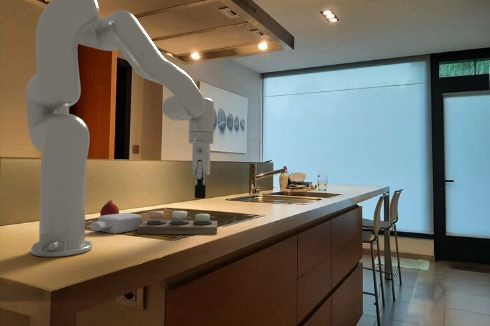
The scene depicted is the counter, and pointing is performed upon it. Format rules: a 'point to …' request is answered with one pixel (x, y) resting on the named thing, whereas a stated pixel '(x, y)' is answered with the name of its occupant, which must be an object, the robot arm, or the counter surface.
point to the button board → (177, 227)
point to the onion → (109, 209)
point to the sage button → (202, 217)
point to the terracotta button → (156, 214)
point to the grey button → (179, 214)
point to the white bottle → (117, 223)
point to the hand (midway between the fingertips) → (200, 198)
